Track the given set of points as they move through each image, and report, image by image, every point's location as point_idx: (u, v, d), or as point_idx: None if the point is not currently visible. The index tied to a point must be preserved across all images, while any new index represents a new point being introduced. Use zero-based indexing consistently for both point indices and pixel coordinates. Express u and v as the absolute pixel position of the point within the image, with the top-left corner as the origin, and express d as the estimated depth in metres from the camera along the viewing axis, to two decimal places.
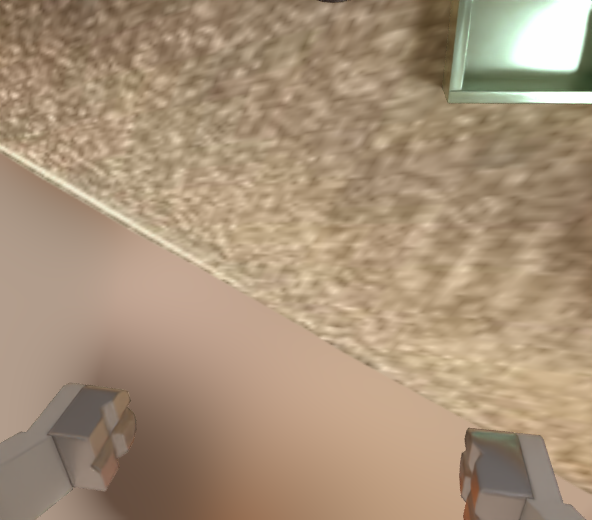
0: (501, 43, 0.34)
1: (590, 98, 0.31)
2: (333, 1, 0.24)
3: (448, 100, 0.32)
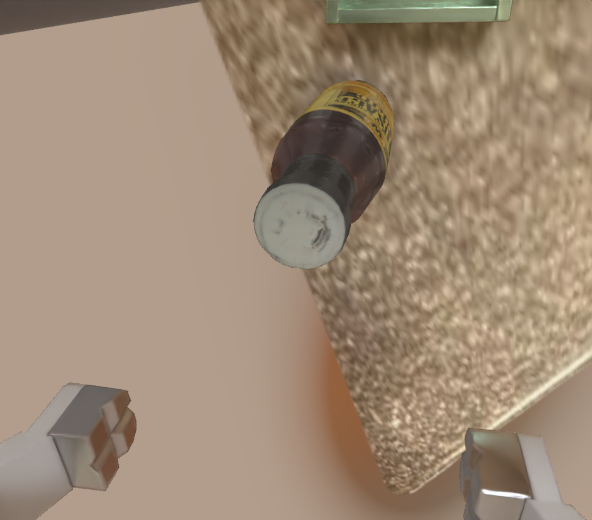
0: None
1: None
2: (384, 171, 0.27)
3: (506, 20, 0.29)
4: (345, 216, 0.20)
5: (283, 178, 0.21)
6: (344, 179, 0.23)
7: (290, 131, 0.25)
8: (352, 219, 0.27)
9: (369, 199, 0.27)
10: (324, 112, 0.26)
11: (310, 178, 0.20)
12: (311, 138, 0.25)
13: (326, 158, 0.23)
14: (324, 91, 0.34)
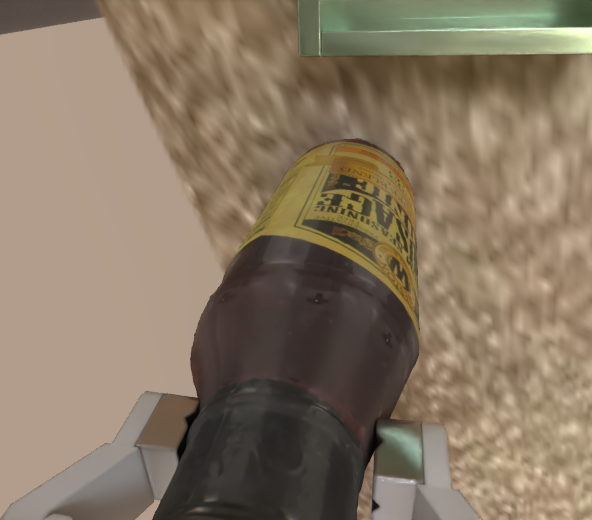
0: None
1: None
2: (417, 357, 0.14)
3: None
4: None
5: None
6: (338, 464, 0.09)
7: (222, 299, 0.12)
8: None
9: None
10: (294, 246, 0.13)
11: None
12: (265, 325, 0.11)
13: (294, 403, 0.10)
14: (301, 162, 0.21)
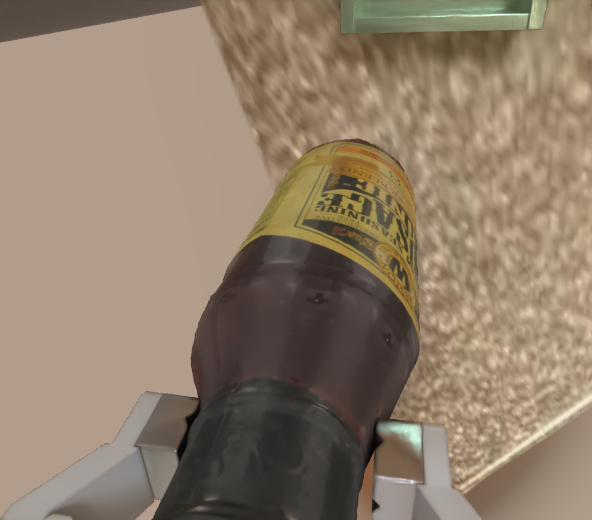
0: None
1: None
2: (417, 357, 0.14)
3: (538, 28, 0.26)
4: None
5: None
6: (337, 464, 0.09)
7: (222, 298, 0.12)
8: None
9: None
10: (294, 246, 0.13)
11: None
12: (265, 325, 0.11)
13: (294, 403, 0.10)
14: (302, 162, 0.21)
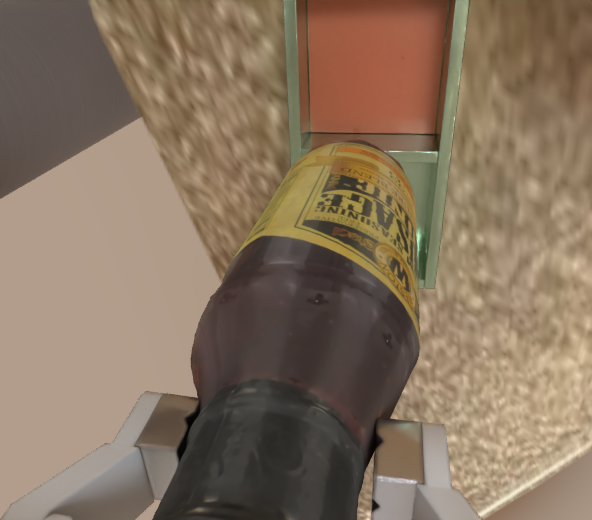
0: None
1: (442, 182, 0.33)
2: (417, 358, 0.14)
3: (432, 288, 0.37)
4: None
5: None
6: (337, 465, 0.09)
7: (222, 299, 0.12)
8: None
9: None
10: (294, 246, 0.13)
11: None
12: (265, 325, 0.11)
13: (294, 404, 0.10)
14: (302, 163, 0.21)
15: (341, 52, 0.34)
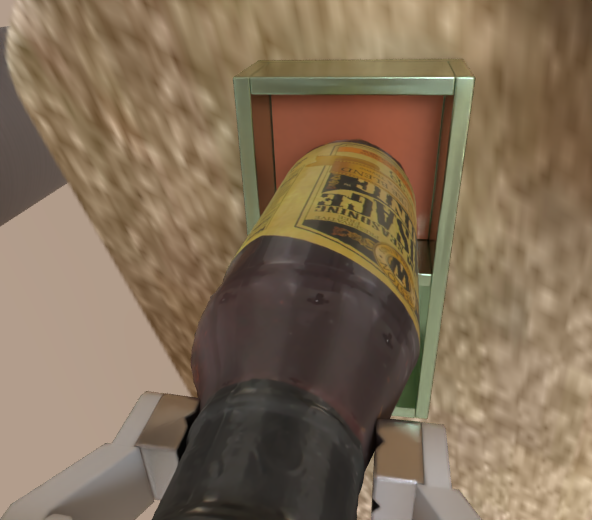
0: None
1: (436, 308, 0.27)
2: (417, 358, 0.14)
3: (424, 418, 0.31)
4: None
5: None
6: (338, 465, 0.09)
7: (222, 299, 0.12)
8: None
9: None
10: (294, 246, 0.13)
11: None
12: (265, 325, 0.11)
13: (294, 404, 0.10)
14: (302, 163, 0.21)
15: (313, 145, 0.27)
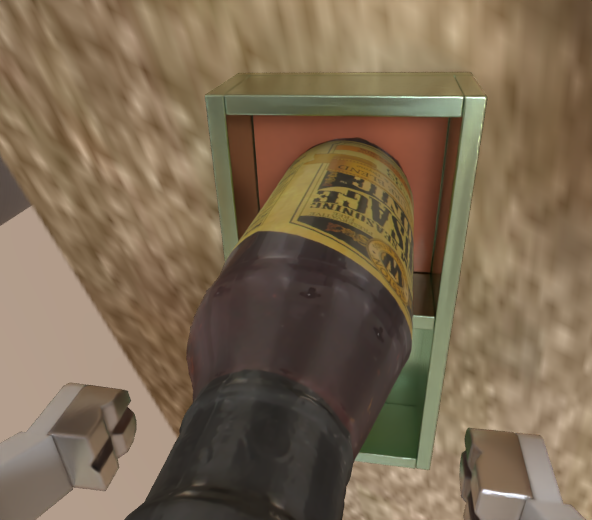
0: None
1: (440, 353, 0.24)
2: (409, 352, 0.14)
3: (426, 469, 0.28)
4: None
5: None
6: (326, 453, 0.09)
7: (217, 292, 0.12)
8: None
9: None
10: (289, 241, 0.13)
11: None
12: (257, 318, 0.12)
13: (284, 394, 0.10)
14: (301, 160, 0.21)
15: None
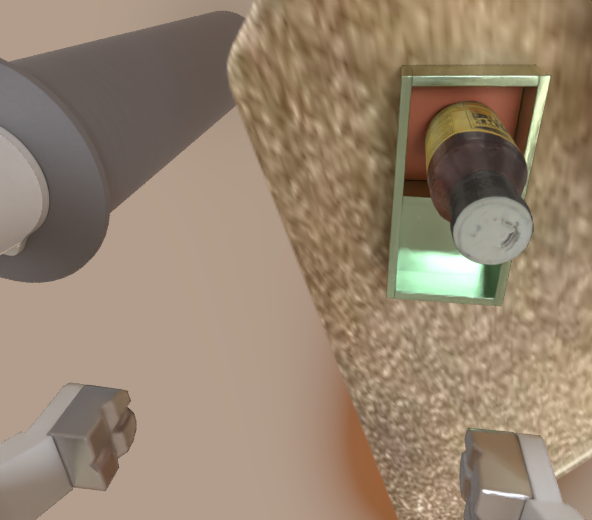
0: None
1: None
2: None
3: (500, 305, 0.46)
4: (532, 222, 0.25)
5: (480, 192, 0.26)
6: (515, 191, 0.28)
7: (454, 150, 0.31)
8: None
9: None
10: (477, 133, 0.31)
11: (505, 192, 0.25)
12: (476, 157, 0.30)
13: (498, 174, 0.28)
14: (447, 111, 0.39)
15: None
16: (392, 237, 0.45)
